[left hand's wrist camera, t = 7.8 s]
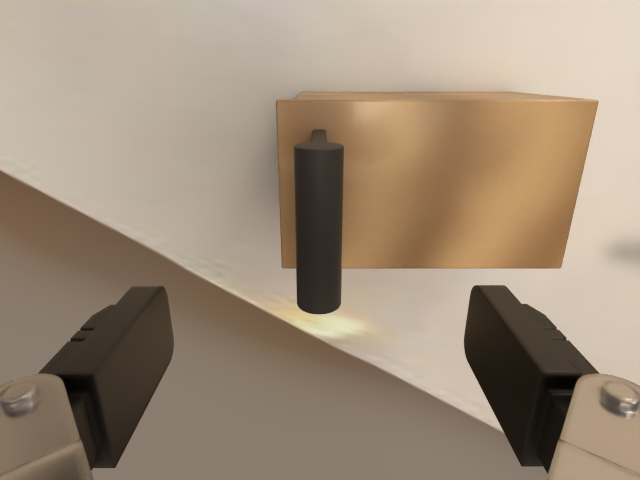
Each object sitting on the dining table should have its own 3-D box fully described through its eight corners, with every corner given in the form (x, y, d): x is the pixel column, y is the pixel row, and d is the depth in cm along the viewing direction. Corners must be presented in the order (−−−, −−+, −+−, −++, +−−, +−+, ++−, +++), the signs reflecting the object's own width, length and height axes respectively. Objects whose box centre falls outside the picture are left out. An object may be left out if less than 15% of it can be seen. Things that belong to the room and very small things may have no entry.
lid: (283, 260, 26) (267, 340, 18) (278, 98, 23) (255, 112, 15) (551, 260, 26) (650, 341, 18) (586, 98, 23) (726, 112, 15)
